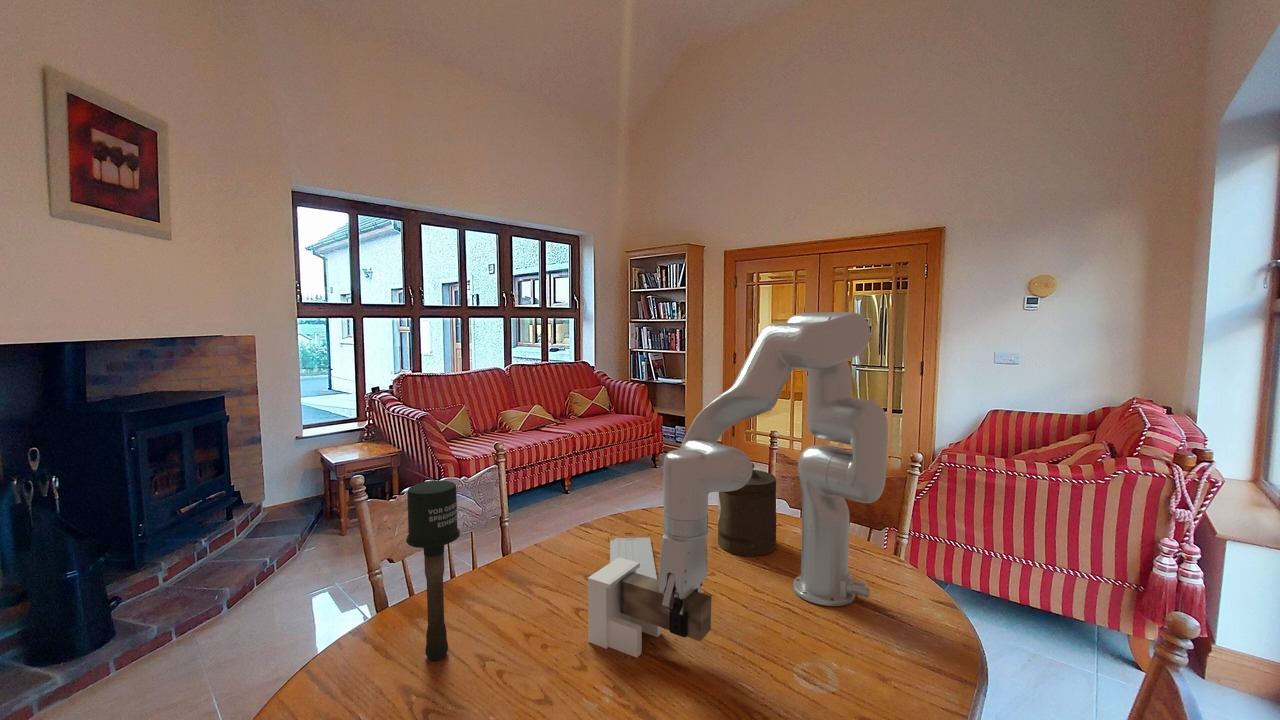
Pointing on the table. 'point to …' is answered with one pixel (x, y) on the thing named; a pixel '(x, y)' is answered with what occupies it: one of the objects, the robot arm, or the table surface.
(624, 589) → the rail
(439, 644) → the potato masher grenade
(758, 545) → the wooden container
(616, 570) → the white forked bracket
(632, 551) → the baseboard molding
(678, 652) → the table surface
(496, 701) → the table surface
